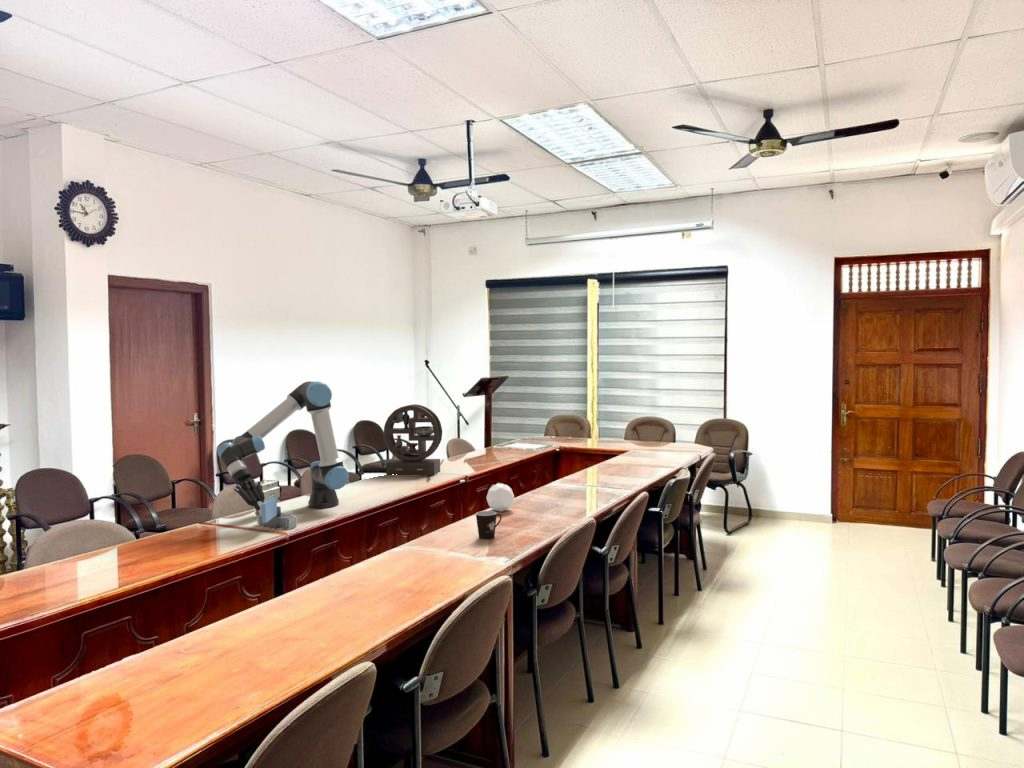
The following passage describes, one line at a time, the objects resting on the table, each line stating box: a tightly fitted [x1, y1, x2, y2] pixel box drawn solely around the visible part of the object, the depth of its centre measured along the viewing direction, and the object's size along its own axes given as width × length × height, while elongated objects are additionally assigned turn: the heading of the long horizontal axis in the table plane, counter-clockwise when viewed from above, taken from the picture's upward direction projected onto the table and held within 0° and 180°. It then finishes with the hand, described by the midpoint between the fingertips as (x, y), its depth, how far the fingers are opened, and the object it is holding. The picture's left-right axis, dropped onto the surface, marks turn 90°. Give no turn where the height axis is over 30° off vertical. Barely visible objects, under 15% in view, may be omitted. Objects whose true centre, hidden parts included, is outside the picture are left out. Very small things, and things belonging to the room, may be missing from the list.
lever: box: [261, 497, 282, 523], centre depth 296 cm, size 19×4×8 cm, turn 2°
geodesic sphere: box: [486, 482, 515, 513], centre depth 327 cm, size 14×14×14 cm
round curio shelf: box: [383, 403, 443, 477], centre depth 439 cm, size 37×19×45 cm, turn 83°
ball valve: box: [249, 478, 283, 517], centre depth 324 cm, size 18×8×18 cm, turn 162°
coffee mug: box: [475, 510, 502, 540], centre depth 278 cm, size 12×9×10 cm
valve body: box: [256, 512, 297, 530], centre depth 304 cm, size 8×20×5 cm, turn 61°
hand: (264, 514), depth 295 cm, fingers closed
